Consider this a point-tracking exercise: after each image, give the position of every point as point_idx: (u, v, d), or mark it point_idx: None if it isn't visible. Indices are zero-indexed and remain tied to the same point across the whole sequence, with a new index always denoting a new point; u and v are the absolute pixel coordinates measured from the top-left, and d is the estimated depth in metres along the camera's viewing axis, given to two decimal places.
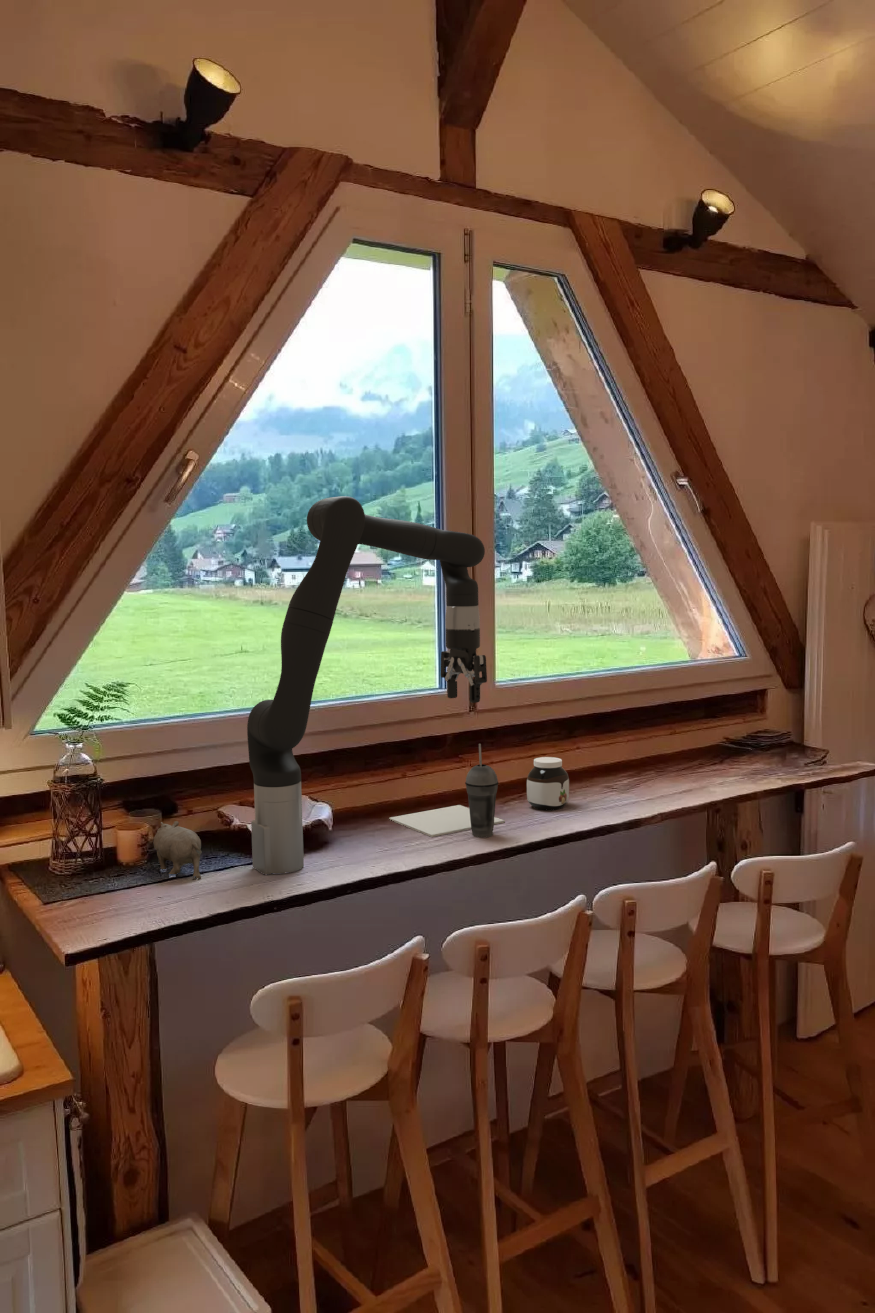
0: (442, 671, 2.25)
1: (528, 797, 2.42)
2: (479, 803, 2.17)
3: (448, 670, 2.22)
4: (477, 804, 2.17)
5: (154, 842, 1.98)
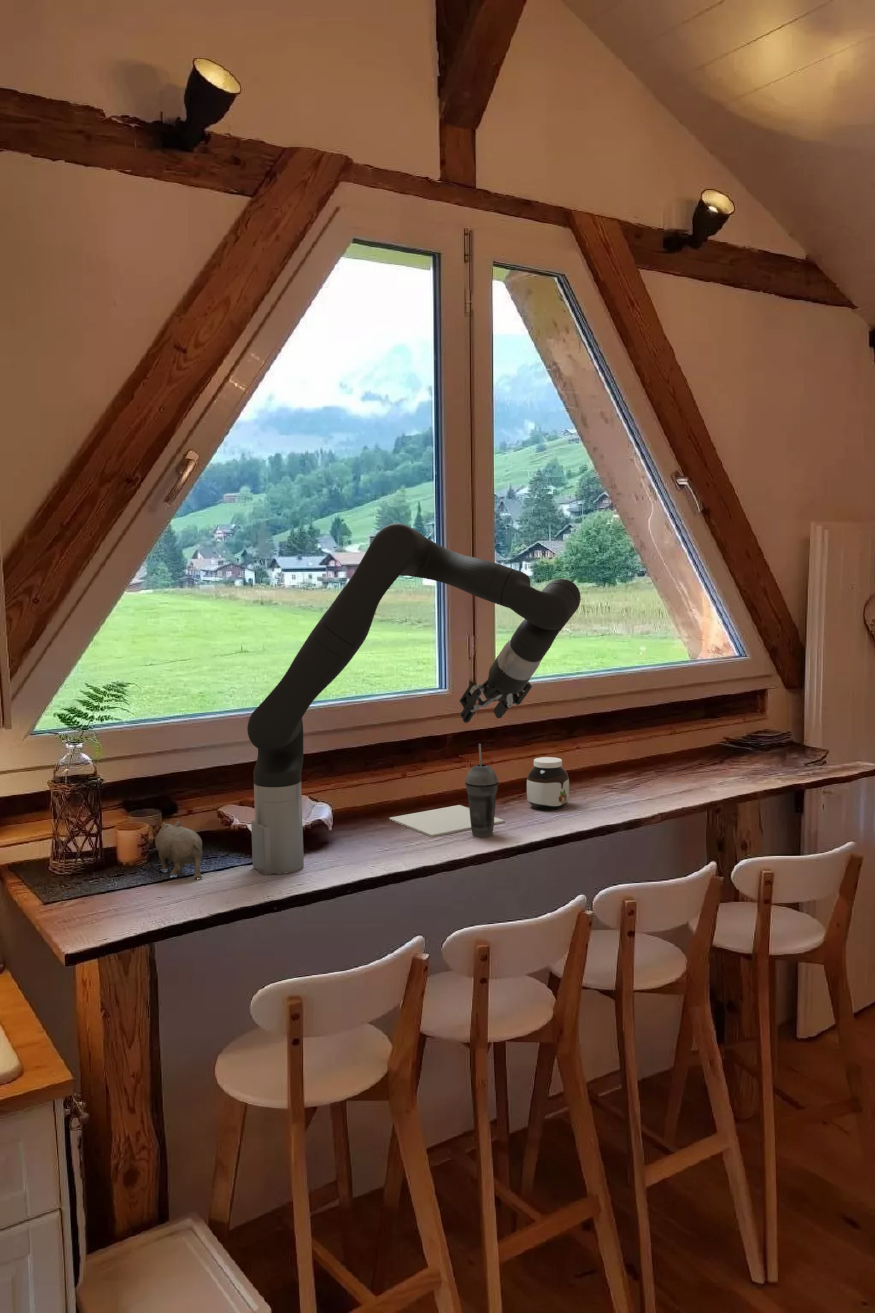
0: None
1: (528, 797, 2.42)
2: (479, 803, 2.17)
3: None
4: (477, 804, 2.17)
5: (156, 842, 1.98)
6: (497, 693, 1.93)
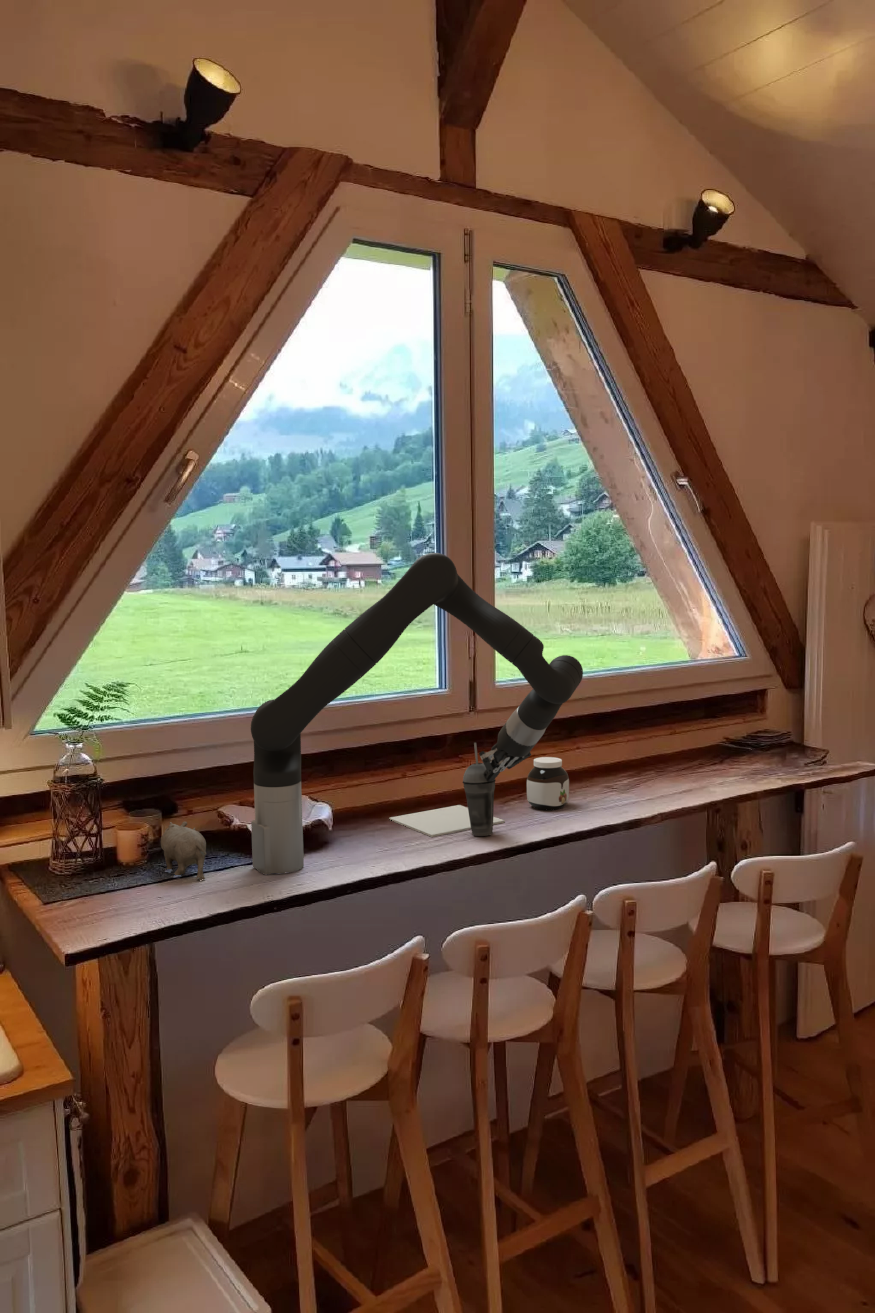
0: None
1: (528, 797, 2.42)
2: (477, 801, 2.17)
3: None
4: (475, 802, 2.17)
5: (161, 842, 1.98)
6: (504, 757, 2.08)
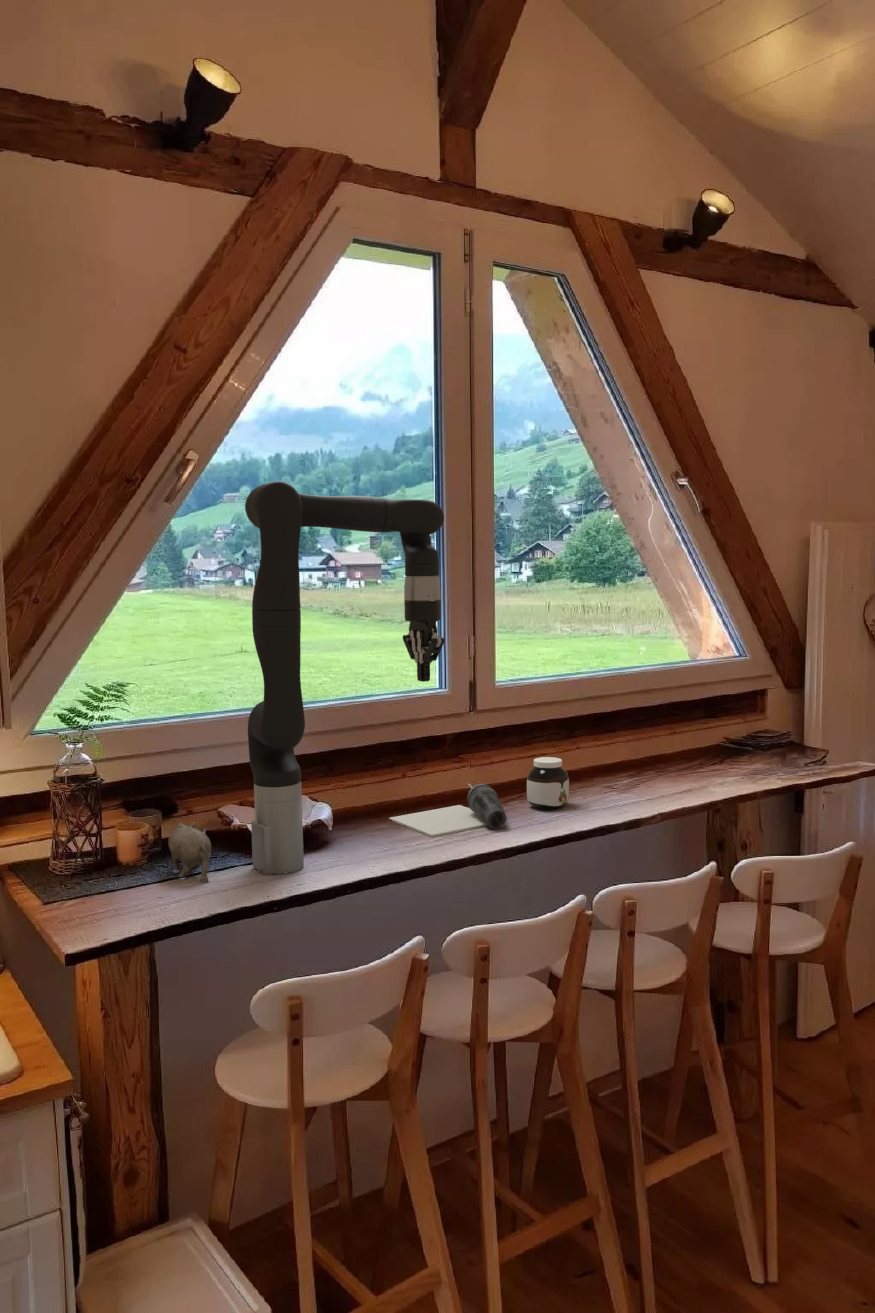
0: (410, 652, 2.11)
1: (528, 797, 2.42)
2: None
3: (413, 648, 2.09)
4: None
5: (169, 842, 1.97)
6: None
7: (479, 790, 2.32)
